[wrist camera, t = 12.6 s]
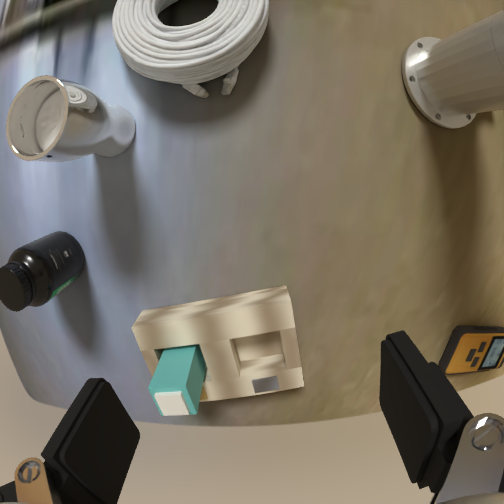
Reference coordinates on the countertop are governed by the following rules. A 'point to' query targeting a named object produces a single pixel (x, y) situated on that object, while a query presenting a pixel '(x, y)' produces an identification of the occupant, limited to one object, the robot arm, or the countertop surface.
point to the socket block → (230, 341)
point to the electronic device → (473, 350)
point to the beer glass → (65, 122)
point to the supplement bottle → (40, 270)
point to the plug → (178, 380)
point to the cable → (189, 41)
